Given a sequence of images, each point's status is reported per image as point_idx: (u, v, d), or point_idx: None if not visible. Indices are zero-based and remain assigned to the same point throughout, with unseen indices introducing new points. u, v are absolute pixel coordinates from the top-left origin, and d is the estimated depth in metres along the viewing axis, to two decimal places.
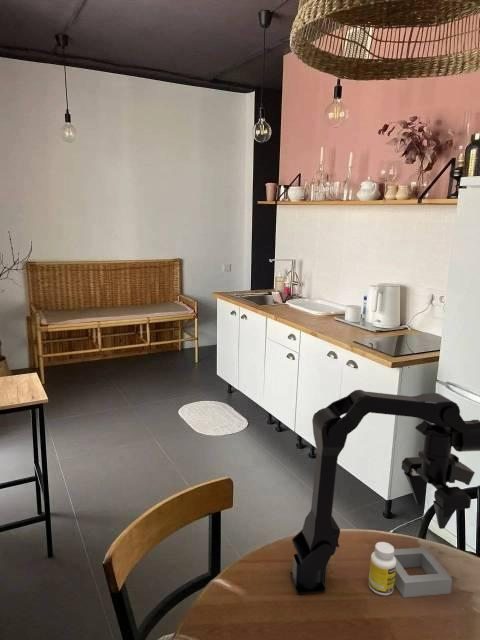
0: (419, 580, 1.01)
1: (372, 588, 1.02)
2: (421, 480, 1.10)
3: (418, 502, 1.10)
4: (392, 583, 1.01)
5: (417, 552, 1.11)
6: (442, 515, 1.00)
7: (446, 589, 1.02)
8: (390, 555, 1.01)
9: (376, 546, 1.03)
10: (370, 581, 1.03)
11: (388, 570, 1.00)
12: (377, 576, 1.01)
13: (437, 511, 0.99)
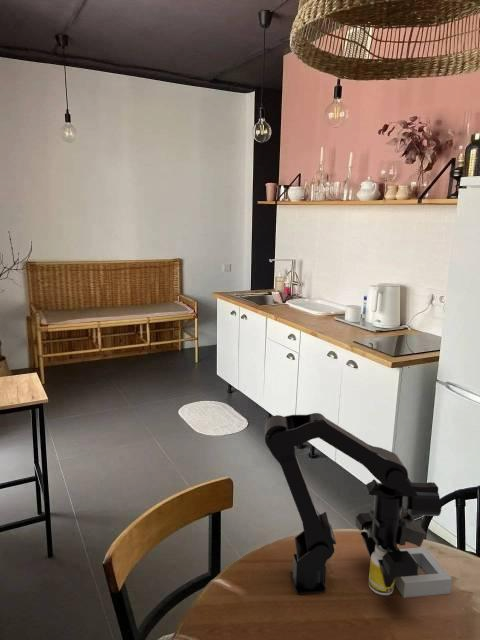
0: (419, 580, 1.01)
1: (372, 588, 1.02)
2: None
3: None
4: (392, 583, 1.01)
5: (417, 552, 1.11)
6: (387, 574, 0.99)
7: (446, 589, 1.02)
8: None
9: (376, 546, 1.03)
10: (370, 581, 1.03)
11: None
12: (377, 576, 1.01)
13: (382, 570, 0.98)
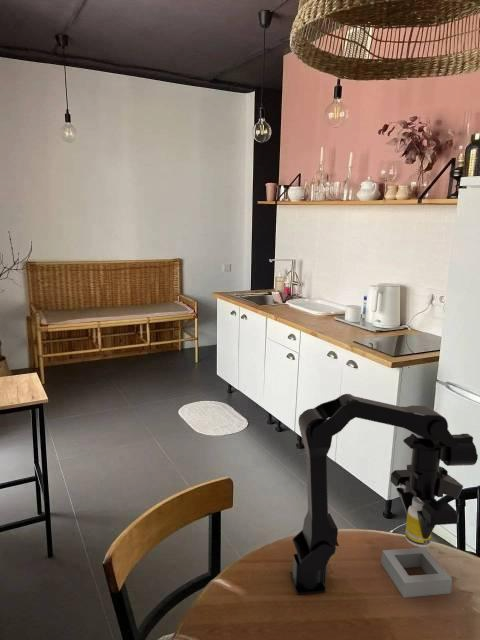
0: (419, 580, 1.01)
1: (409, 540, 1.04)
2: None
3: None
4: None
5: (417, 552, 1.11)
6: (425, 525, 1.00)
7: (446, 589, 1.02)
8: None
9: (413, 499, 1.04)
10: (407, 534, 1.05)
11: None
12: (415, 528, 1.03)
13: (420, 521, 1.00)
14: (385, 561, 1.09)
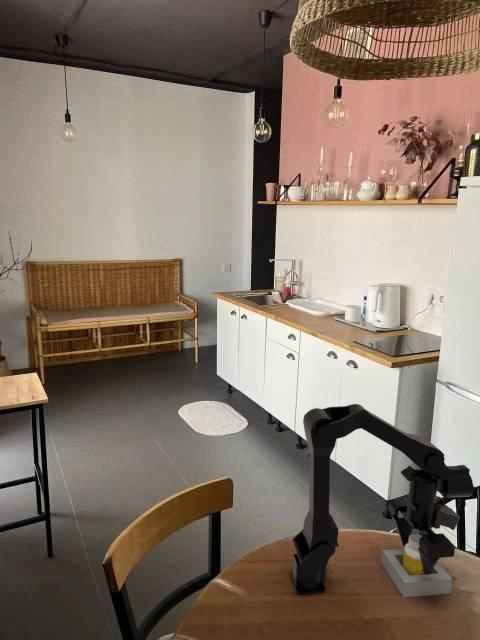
0: (419, 580, 1.01)
1: None
2: (407, 522, 1.10)
3: (404, 544, 1.11)
4: None
5: None
6: (427, 562, 1.00)
7: (446, 589, 1.02)
8: None
9: (410, 538, 1.06)
10: None
11: None
12: (411, 567, 1.04)
13: (422, 558, 0.99)
14: (385, 561, 1.09)
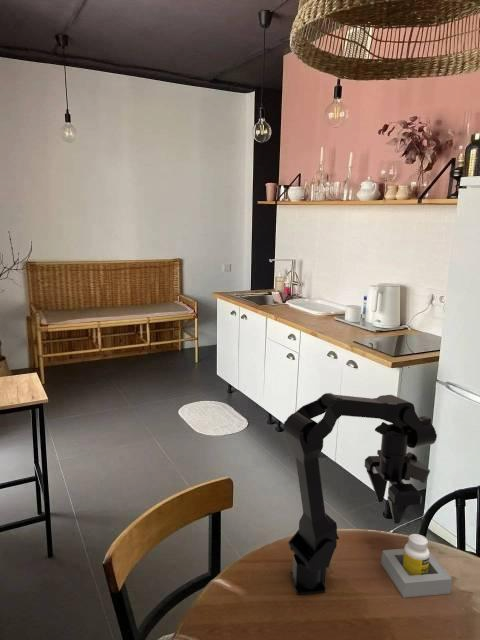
0: (419, 580, 1.01)
1: None
2: (381, 477, 1.16)
3: (379, 498, 1.16)
4: None
5: None
6: (396, 510, 1.05)
7: (446, 589, 1.02)
8: (424, 546, 1.04)
9: (410, 538, 1.06)
10: None
11: (422, 560, 1.03)
12: (411, 567, 1.04)
13: (391, 506, 1.05)
14: (385, 561, 1.09)
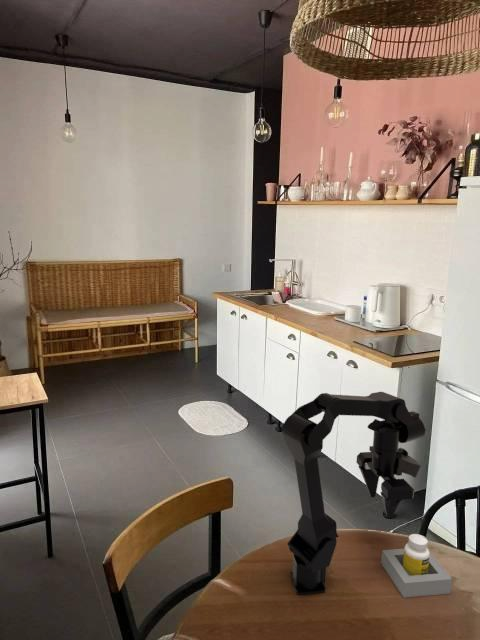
0: (419, 580, 1.01)
1: None
2: (373, 473, 1.17)
3: (371, 494, 1.17)
4: None
5: None
6: (389, 505, 1.07)
7: (446, 589, 1.02)
8: (424, 546, 1.04)
9: (410, 538, 1.06)
10: None
11: (422, 560, 1.03)
12: (411, 567, 1.04)
13: (384, 501, 1.06)
14: (385, 561, 1.09)
